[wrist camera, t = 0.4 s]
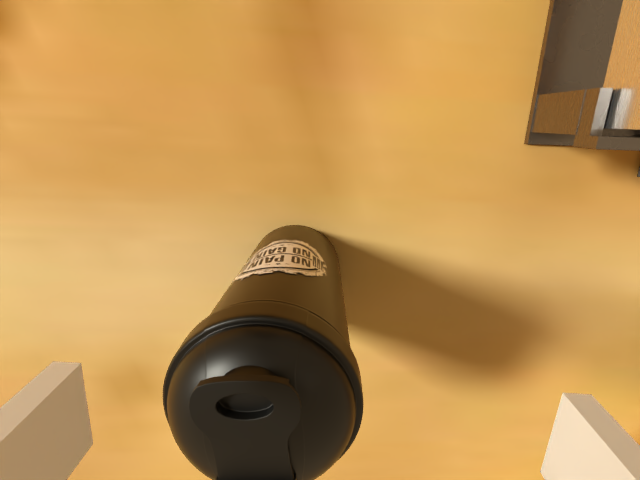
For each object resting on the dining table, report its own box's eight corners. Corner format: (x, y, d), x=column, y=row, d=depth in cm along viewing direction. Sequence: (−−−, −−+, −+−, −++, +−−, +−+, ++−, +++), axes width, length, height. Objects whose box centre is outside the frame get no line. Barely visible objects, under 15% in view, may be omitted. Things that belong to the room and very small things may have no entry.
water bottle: (346, 214, 37) (369, 354, 15) (348, 312, 40) (370, 548, 18) (239, 217, 37) (108, 359, 15) (249, 314, 40) (151, 548, 18)
